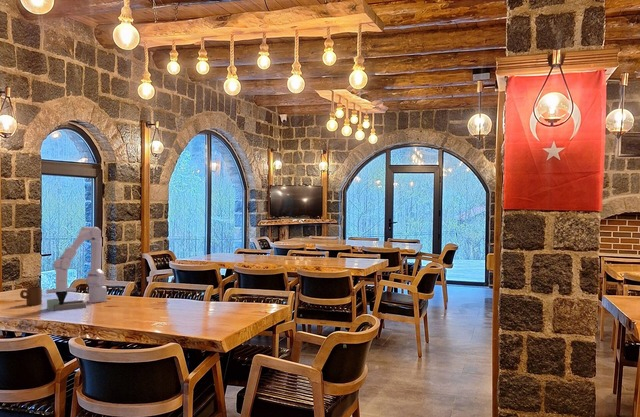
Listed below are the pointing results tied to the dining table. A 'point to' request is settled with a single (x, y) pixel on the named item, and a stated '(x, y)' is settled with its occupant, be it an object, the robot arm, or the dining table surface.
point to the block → (52, 303)
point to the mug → (32, 296)
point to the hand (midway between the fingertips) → (61, 305)
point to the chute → (70, 305)
